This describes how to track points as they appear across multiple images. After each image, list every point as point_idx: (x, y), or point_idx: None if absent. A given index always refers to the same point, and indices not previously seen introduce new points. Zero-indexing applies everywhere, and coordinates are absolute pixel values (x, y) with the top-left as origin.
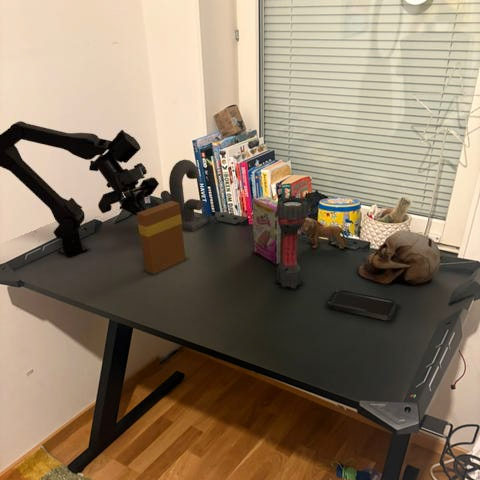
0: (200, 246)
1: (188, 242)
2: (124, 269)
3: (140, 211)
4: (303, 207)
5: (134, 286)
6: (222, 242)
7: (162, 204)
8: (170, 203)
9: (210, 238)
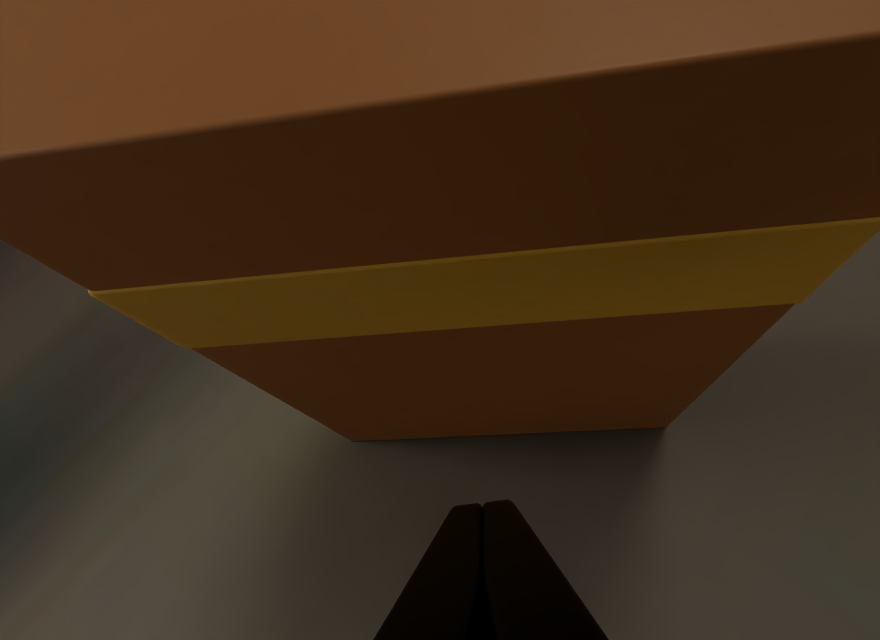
0: (146, 445)
1: (125, 581)
2: (806, 594)
3: (593, 622)
4: None
5: (853, 287)
6: (36, 380)
7: (173, 96)
8: (47, 48)
9: (5, 498)
